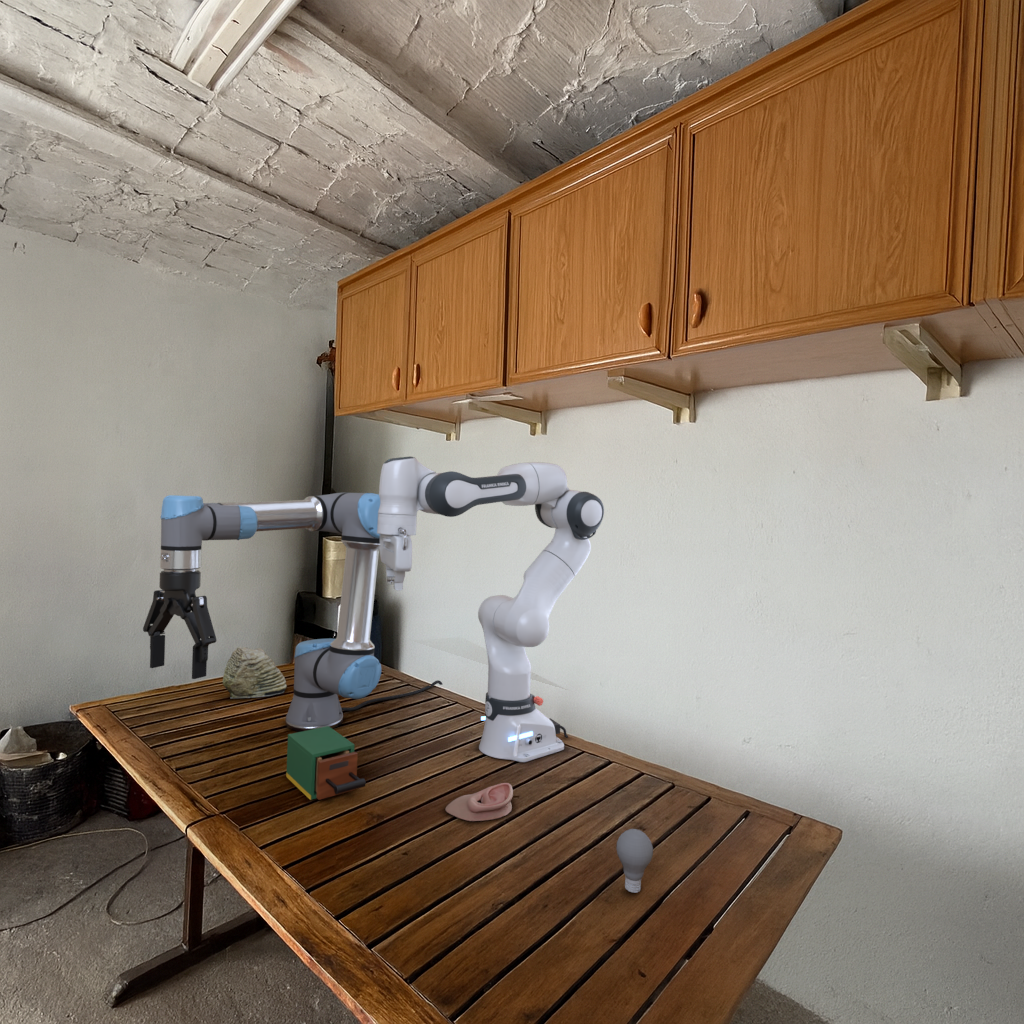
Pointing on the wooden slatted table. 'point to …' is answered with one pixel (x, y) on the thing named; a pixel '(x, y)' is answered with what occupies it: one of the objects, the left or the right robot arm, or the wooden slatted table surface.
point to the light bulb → (634, 857)
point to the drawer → (336, 774)
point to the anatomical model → (483, 804)
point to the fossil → (252, 674)
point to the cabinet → (311, 755)
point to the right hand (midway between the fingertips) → (394, 586)
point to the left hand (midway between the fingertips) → (177, 672)
